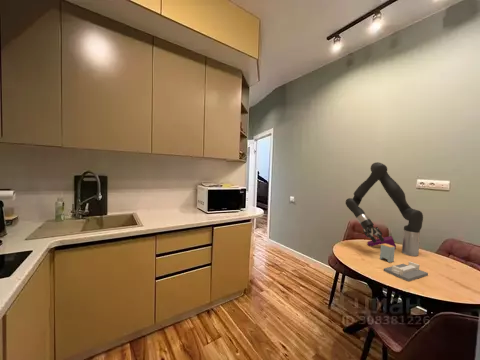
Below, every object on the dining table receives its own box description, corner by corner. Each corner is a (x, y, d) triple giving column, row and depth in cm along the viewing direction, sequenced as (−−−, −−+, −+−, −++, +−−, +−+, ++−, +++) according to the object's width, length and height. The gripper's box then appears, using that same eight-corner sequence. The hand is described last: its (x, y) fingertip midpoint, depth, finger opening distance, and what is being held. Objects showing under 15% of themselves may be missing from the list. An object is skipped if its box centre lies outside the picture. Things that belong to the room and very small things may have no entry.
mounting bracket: (371, 254, 170) (397, 249, 162) (367, 244, 172) (392, 238, 163) (371, 251, 178) (396, 246, 170) (367, 241, 180) (391, 235, 171)
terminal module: (384, 258, 148) (385, 243, 148) (393, 261, 143) (394, 246, 142) (379, 259, 146) (381, 244, 146) (389, 262, 141) (390, 247, 140)
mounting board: (402, 266, 137) (403, 258, 137) (427, 275, 125) (428, 267, 125) (383, 270, 128) (384, 263, 128) (408, 281, 116) (409, 273, 116)
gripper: (362, 219, 153) (377, 240, 144) (374, 218, 159) (389, 238, 150) (354, 224, 158) (368, 245, 149) (367, 223, 165) (381, 243, 155)
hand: (379, 241), depth 149 cm, fingers open, 8 cm apart
